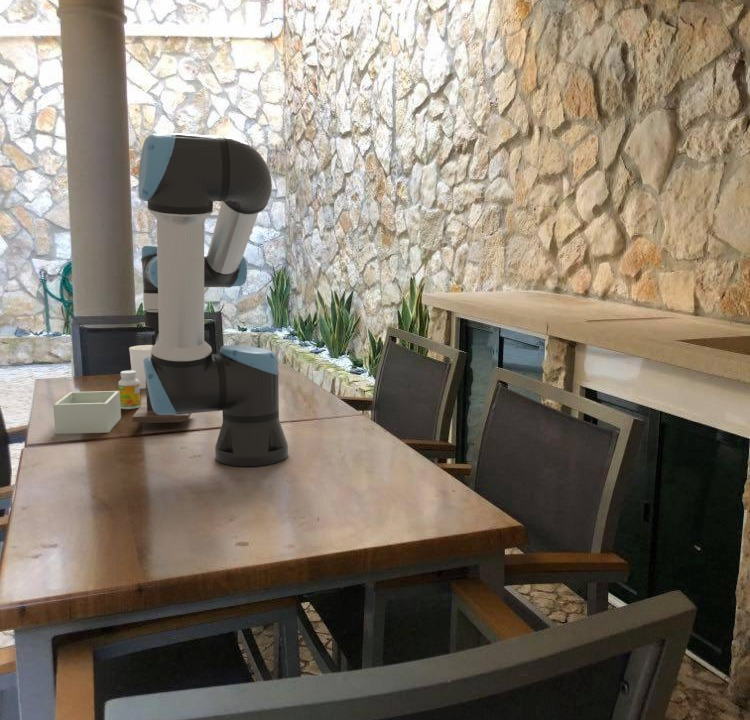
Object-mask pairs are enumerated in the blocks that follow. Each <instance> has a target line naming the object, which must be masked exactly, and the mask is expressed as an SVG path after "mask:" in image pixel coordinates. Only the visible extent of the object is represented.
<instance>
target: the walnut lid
mask: <svg viewBox="0 0 750 720" xmlns="http://www.w3.org/2000/svg"><path fill="white" fill-rule="evenodd" d="M145 392H146V393H145V394H146V395H145V396H146V402H142V404H140V407H139V408H137V410H136V411H135V413H134V414H133V415H132V418H131V419H132V422H133V423H134V422H135V423H136V422H137V423H138V422H140V423H141V424H156V423H157V424H159V423H184V421H189V420H190V417H191V416H192V414H193V413H190V414H179V415H177V416H176V415H159V414H157V413H155V412H154V410H153V408H152V405H151V401H150V397H149V392H148V388H147V382H146V389H145Z"/></svg>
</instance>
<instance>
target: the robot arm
mask: <svg viewBox="0 0 750 720" xmlns="http://www.w3.org/2000/svg"><path fill="white" fill-rule="evenodd" d="M138 168H139V169H138V187H137V188H138V189H137V191H138V197H139V199H140V200H142V201H143V202H147V211H148V212H149V213H150V214H151V215H152V216H153V217H155V219H156V244H155V245H150V244H149V245H148V244H147V245H144V246H142V248H141V258H140V262H141V267H142V268H141V270H142V271H141V273H142V283H143V285H142V286H143V287H142V288H143V294H142V295H143V309H144V310H146V311H144V313H143V314H144V326H145V327H146V328H149V329H150V328H153V329H154V333H153V334H152V336H151V341H152V342H151V345H153V347H152V348H151V357H147V358H145V359H144V360H143V362H144V371H145V377H146V382H147V388H148V392H149V397H150V401H151V405H152V408H153V410H154V412H155V413H157V414H159V415H176V416H177V415H179V414H190V413H192V414H200V413H210V412H211V413H212V412H218V411H219V412H220V411H222V424H221V427H220V430H219V433H218V437H217V441H216V444H215V448H214V449H215V450H214V454H215V455H214V456H215V457H214V458H215V460H216V461H217V462H219V463H221V464H224V465H226V466H233V467H260V466H261V467H262V466H267V465H272V464H276V463H279V462H282V461H284V460H285V459H287V457H289V445H288V441H287V438H286V436H285V433H284V429H283V427H282V425H281V421H280V405H279V403H280V398H279V397H280V395H279V390H280V389H279V388H280V387H279V376H280V371H279V362H278V357H277V355H276V353H275V352H274V351H271V350H270V349H266V348H262V347H257V346H250V345H249V346H248V345H237V344H233V345H232V344H229V345H222V346H221V347H220V349H219V353H213V349H212V346H211V345H210V344H209V343H208V342H207V341H205V288H232V287H241V286H243V285H245V284H246V281H247V276H248V265H247V260H246V258H245V256H244V254H245V251H246V248H247V245H248V243H249V240H250V239H251V238H250V237H251V236H252V235H251V234H252V232H253V229H254V227H255V224H256V222H257V218H258V216H259V213H261V212H263V211H264V210H265V209H266V207H267V206H268V204H269V201H270V198H271V196H272V195H271V194H272V189H273V183H272V182H273V181H272V176H271V175H272V174H271V173H270V170H269V169H270V168H269V167H268V165H267V162H266V161H265V160H264V158H263V156H262V155H261V154H260V153H259V151H258V150H257V149H255V148H254V147H253V145H251V144H249V143H248V142H246V141H244V140H242V139H240V138H238V137H235V136H234V137H233V136H229V135H223V136H219V135H203V134H201V135H200V134H190V133H189V134H188V133H187V134H186V133H175V132H170V133H169V132H168V133H165V132H164V133H152V134H149V135H148V136H146V138H145V139H144V141H143V144H142V148H141V153H140V159H139V167H138ZM214 202H221V203H220V206H219V211H218V215H217V218H216V223H215V224H214V229H213V233H212V237H211V240H210V243H209V247H208V252H207V253H206V254H205V222H206V219H208V217H209V216H211V215H212V214H213V212H214Z"/></svg>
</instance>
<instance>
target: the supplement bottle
mask: <svg viewBox="0 0 750 720" xmlns="http://www.w3.org/2000/svg"><path fill="white" fill-rule="evenodd" d="M120 378H121V379H120V380H119V381H118V385H117V386H118V391H120V408H121V410H135V409H139V408H140V406H141V389H140V383H139V380H138V379H136V371H132V369H130V370H129V369H128V370H122V371H120Z"/></svg>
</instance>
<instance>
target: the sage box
mask: <svg viewBox="0 0 750 720" xmlns="http://www.w3.org/2000/svg"><path fill="white" fill-rule="evenodd" d="M121 411H122V409H121V408H120V391H119V390H108V391H107V390H106V391H105V390H103V391H102V390H101V391H69V392H68V393H66V394H65V395H63V397H61V398H60V399H59V400H57V402H56V401H55V403H54V404H53V415H54V416H53V417H54V418H53V419H54V429H55V431H54V434H55V435H65V434H67V435H68V434H69V435H70V434H98V433H99V434H103V433H106V434H107V433H110V432H111V430H112V429H113V428H114V427H115V426H116V425H117V424H118V422H119V421H120V420H121V418H122V412H121Z"/></svg>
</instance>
